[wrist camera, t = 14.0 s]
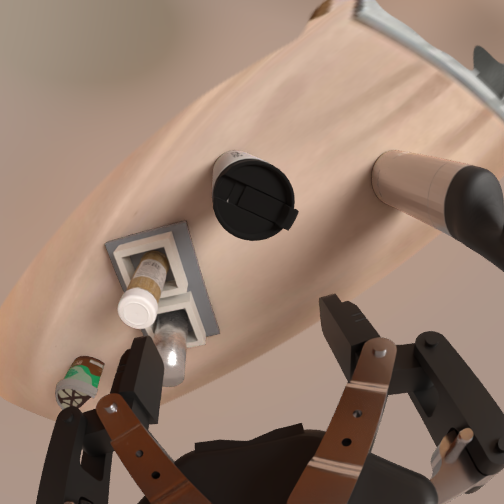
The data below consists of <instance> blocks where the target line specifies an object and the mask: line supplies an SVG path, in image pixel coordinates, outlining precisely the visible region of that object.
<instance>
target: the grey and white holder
mask: <svg viewBox="0 0 504 504" xmlns="http://www.w3.org/2000/svg"><path fill="white" fill-rule="evenodd" d="M105 246H106V249H107V251H108V254H109V257H110V259H111V262H112V264H113V267H114V270H115V272H116V275H117V277H118V279H119V282H120V284H121V287H122V289H123V291H124V293H125V292H126V290H127V287H128V285H129V283H130V281H131V279H132V276H133V274H134V272H135V270H136V268H137V267H138V265H139V264H140V261H141V258H142V256H143V255H144V254H145V253H147V252H149V251H158V252H161V253H163V254H164V255H165V256H166V257H167V259H168V261H169V270H168V272H167V275H166V280H165V283H164V286H163V290H162V293H161V297H160V299H159V303H158V312H157V316H156V319H155V321H154V323H153V324H152V325H151V326H150V327H148V328H145V329H141V331H142V333H143V335H144V336H150V337H151V338H152V340H153V338H154V334H155V330H156V326H157V322H158V318H159V314H160V313H165V312H169V311H174V310H179V309H184V310H185V311H186V312H187V314H188V317H189V325H188V336H187V348H190V347H195V346H200V345H206V337H207V336H212V335H217V334H220V330H219V327H218V324H217V321H216V318H215V315H214V312H213V309H212V306H211V303H210V300H209V296H208V293H207V290H206V287H205V284H204V280H203V277H202V274H201V271H200V267H199V264H198V260H197V257H196V254H195V250H194V247H193V243H192V240H191V236H190V233H189V229H188V226H187V222H186V221H182V222H178V223H174V224H170V225H166V226H162V227H158V228H155V229H151V230H147V231H143V232H140V233H136V234H132V235H129V236H125V237H122V238H118V239H115V240H111V241H108V242H106V243H105Z"/></svg>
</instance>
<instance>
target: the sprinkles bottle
mask: <svg viewBox="0 0 504 504" xmlns="http://www.w3.org/2000/svg"><path fill="white" fill-rule="evenodd" d="M168 270H169V261H168V259H167V257H166V256H165V255H164V254H163V253H161V252H158V251H149V252H147V253H145V254H144V255H143V256H142V258H141V261H140V264H139V265H138V267H137V268H136V270H135V272H134V274H133V276H132V279H131V281H130V283H129V285H128V287H127V290H126V292H125V293H124V294H123V295H122V297H121V299H120V301H119V304H118V314H119V317H120V319H121V320H122V321H123V322H124V323H125V324H126V325H128V326H129V327H132V328H135V329H145V328H148V327H150V326H151V325H152V324H153V323H154V321H155V319H156V316H157V312H158V303H159V299H160V297H161V293H162V290H163V286H164V283H165V280H166V275H167V272H168Z"/></svg>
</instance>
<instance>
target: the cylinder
mask: <svg viewBox="0 0 504 504" xmlns="http://www.w3.org/2000/svg"><path fill="white" fill-rule="evenodd" d="M188 325H189V317H188V314H187V312H186V311H185V310H184V309H179V310H174V311H169V312H165V313H160V314H159V318H158V322H157V326H156V330H155V334H154V338H153V342H154V344H155V346H156V348H157V350H158V352H159V354H160V356H161V358H162V360H163V363H164V377H163V385H162V386H164V387H174V386H177V385H179V384H181V383H182V382H183V380H184V375H185V361H186V348H187V336H188Z"/></svg>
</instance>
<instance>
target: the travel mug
mask: <svg viewBox="0 0 504 504" xmlns="http://www.w3.org/2000/svg"><path fill="white" fill-rule="evenodd" d="M212 200H213V209H214V212H215V215H216V217H217V219H218V221H219V223H220V224H221V225H222V227H223V228H224V229H225V230H226V231H228V232H229V233H230V234H232V235H234V236H235V237H238V238H240V239H243V240H250V241H257V240H263V239H267V238H270V237H272V236H274V235H276V234H277V233H278V232H280V231H281V230H282V229H283V228H284V229H286V230H289V229H290V228H291V226H292V225H293V223H294V221H295V219H296V217H297V215H298V212H299V211H298V210H297V209H294V203H295V201H294V192H293V188H292V186H291V184H290V181H289V180H288V178H287V177H286V176H285V174H284V173H282V172H281V171H280V170H279V169H278V168H276V167H275V166H273V165H271V164H270V163H268V162H266V161H264V160H262V159H260V158H257V157H255V156H253V155H251V154H248V153H246V152H243V151H239V150H232V151H228V152H226V153H224V154H222V155H221V156H220V157H219V158H218V159H217V161H216V162H215V164H214V167H213V180H212Z"/></svg>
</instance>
